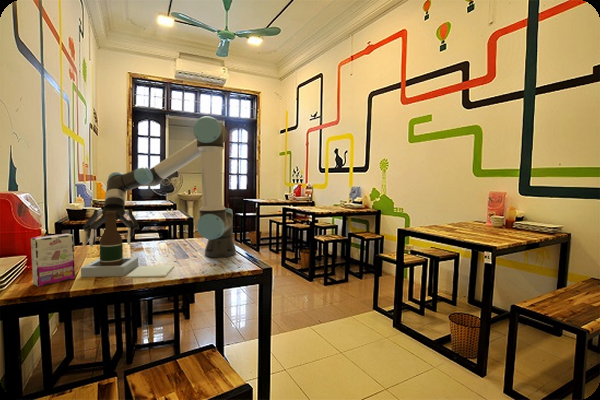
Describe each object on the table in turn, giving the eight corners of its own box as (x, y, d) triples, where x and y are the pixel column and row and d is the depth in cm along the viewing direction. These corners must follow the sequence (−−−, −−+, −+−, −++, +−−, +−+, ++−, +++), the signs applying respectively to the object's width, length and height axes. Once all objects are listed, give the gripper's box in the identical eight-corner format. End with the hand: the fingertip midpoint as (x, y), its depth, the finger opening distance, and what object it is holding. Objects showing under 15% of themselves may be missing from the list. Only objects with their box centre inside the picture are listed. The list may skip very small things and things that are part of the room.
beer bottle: (99, 274, 120) (97, 212, 118) (101, 269, 126) (100, 210, 125) (122, 272, 123) (121, 211, 122) (123, 267, 130) (122, 210, 129)
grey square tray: (138, 265, 133) (138, 257, 133) (124, 275, 119) (124, 266, 118) (100, 266, 131) (100, 257, 131) (81, 277, 116) (80, 267, 116)
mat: (174, 266, 132) (174, 265, 132) (165, 276, 119) (165, 275, 118) (139, 267, 130) (139, 266, 130) (125, 277, 116) (125, 276, 116)
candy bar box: (69, 276, 117) (68, 233, 116) (75, 278, 114) (74, 234, 113) (31, 284, 107) (30, 237, 106) (37, 287, 105) (35, 239, 104)
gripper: (146, 207, 142) (145, 246, 129) (82, 208, 132) (74, 251, 119) (145, 196, 137) (144, 236, 124) (79, 196, 127) (70, 240, 114)
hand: (110, 243), depth 122 cm, fingers open, 12 cm apart
